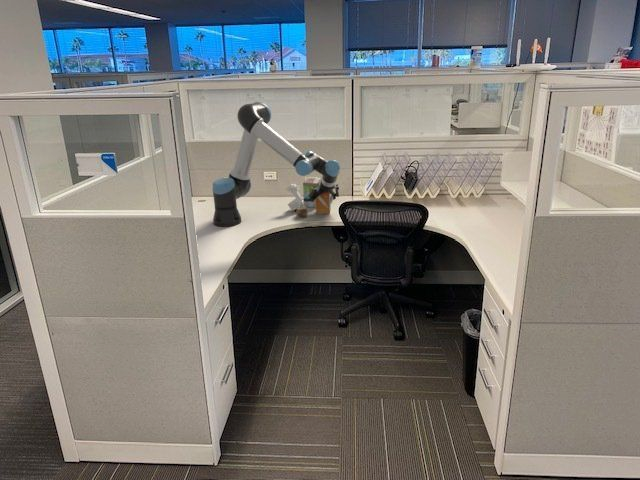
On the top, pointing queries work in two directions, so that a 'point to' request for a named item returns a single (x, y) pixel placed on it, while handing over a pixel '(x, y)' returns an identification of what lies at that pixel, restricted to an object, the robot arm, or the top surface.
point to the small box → (323, 203)
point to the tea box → (309, 190)
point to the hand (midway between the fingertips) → (321, 202)
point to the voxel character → (298, 198)
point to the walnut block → (302, 212)
